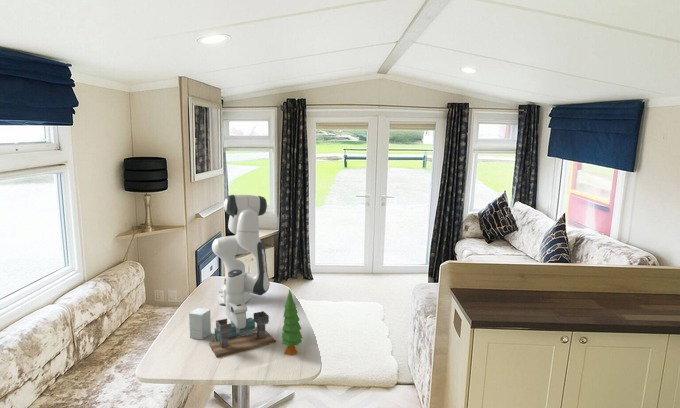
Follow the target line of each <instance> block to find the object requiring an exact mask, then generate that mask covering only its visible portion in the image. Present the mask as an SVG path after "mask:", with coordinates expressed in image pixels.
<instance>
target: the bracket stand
mask: <svg viewBox="0 0 680 408" xmlns="http://www.w3.org/2000/svg"><path fill="white" fill-rule="evenodd" d="M253 319H254V321H255V324H256V332H254V333H253V332H252V333H248V334H244V335H243V334H242V335H239V336H237V337H234V338H230V339H228V332H231V322H230V323H228V318H222V319H217V320H215V328H217V329H218V331H219V332H220V341H212V342H209V343H208V344H209V345H208V346H209V348H210V350H211V351H212V352H213V354H214V356H215V357H216V358H220V357H225V356H228V355H232V354H237V353H240V352H244V351H250V350H252V349H257V348H261V347H264V346H268V345H271V344H274V343H276V338H274V337H273V335H272V334H271V333H269V332H268V331H267V330H266V325H267V324H269V322H270V320H269V319H270V316H269V314H268V313H266V312H265V311H264V310H263V311H258V312H254V313H253Z"/></svg>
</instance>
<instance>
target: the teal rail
mask: <svg viewBox="0 0 680 408" xmlns="http://www.w3.org/2000/svg"><path fill="white" fill-rule="evenodd" d="M230 323H231V322H230ZM235 329H236V326H235V325H234V323H231V332H228V339H230V338H234V337H239V336H242V335H243V334H244V335H245V334H246V333H249V332H252V331H254V330H256V322H255V321H254V317H246V326H245V328H242V329H240V332H239V333H236V332H235ZM217 341H220V332H219V331H218V329H217V328H216V327H214V342H217Z"/></svg>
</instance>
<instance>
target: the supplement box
mask: <svg viewBox="0 0 680 408" xmlns="http://www.w3.org/2000/svg"><path fill="white" fill-rule="evenodd" d="M188 318H189V320H188V321H189V338H190V339H196V340H200V341H201V340H204V339H206V338H208V336H210V335H211V334H212V323H211V321H212V320H211V309H208V308H201V307H197V308H196V309H193V310H191V312H189V313H188Z"/></svg>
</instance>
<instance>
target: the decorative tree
mask: <svg viewBox="0 0 680 408" xmlns="http://www.w3.org/2000/svg"><path fill="white" fill-rule="evenodd" d="M283 308H284V311H283V327H282V333H281V338H282V339H281V340H282V341H281V344H282V345H284V346H286V348H285V351H284V353H283V355H286V356H287V355H288V356H295V355H297V354H298V353H299V352H298V350H297V349H296V346H299V345H300V344H301V343H302V339H303V335H302V333H301V330H302V326H301V324H300V320H301V319H300V317H299V316H298V312H299V311H298V309H297V306H296V304H295V301H294V297H293V294H292V291H291V289H288V294H287V298H286V301H285V303H284V307H283Z"/></svg>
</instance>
